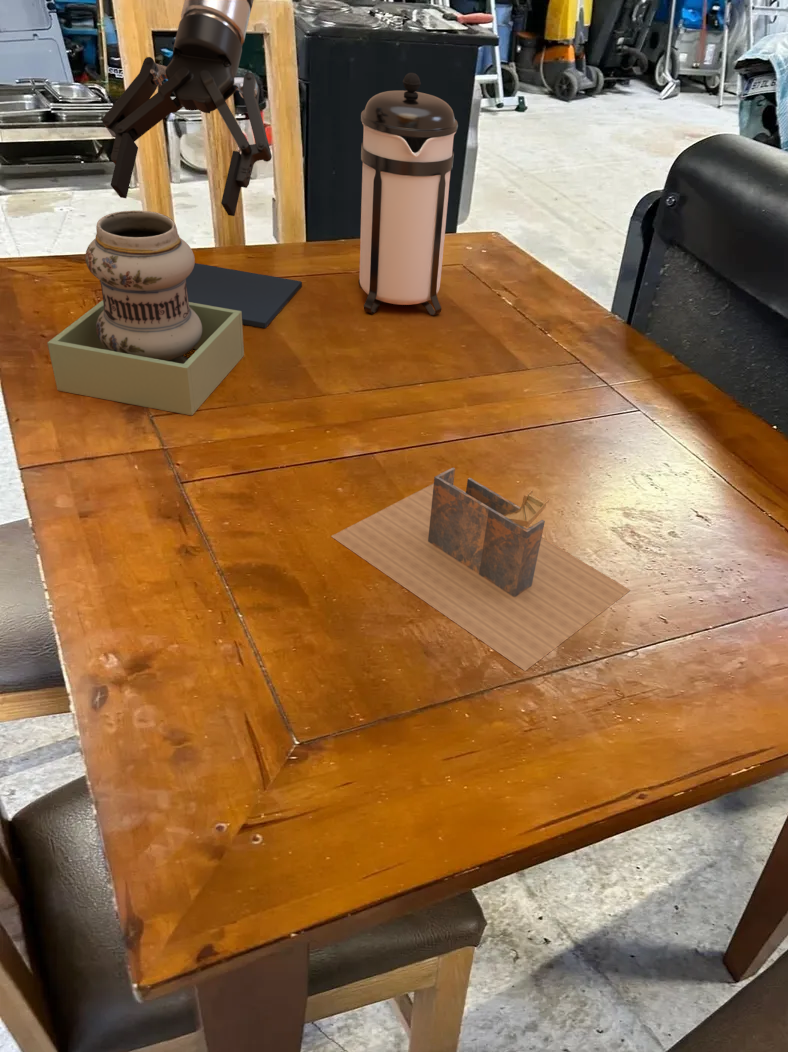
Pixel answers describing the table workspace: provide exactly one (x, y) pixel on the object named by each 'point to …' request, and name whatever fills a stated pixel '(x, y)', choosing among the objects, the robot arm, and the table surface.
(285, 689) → the table surface
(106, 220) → the apothecary jar
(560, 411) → the table surface
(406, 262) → the coffee press
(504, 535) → the architectural model on board
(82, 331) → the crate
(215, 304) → the mat
